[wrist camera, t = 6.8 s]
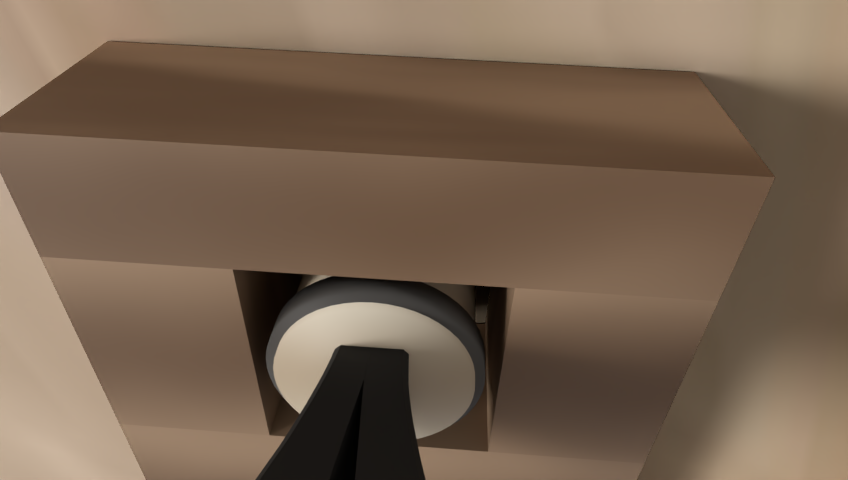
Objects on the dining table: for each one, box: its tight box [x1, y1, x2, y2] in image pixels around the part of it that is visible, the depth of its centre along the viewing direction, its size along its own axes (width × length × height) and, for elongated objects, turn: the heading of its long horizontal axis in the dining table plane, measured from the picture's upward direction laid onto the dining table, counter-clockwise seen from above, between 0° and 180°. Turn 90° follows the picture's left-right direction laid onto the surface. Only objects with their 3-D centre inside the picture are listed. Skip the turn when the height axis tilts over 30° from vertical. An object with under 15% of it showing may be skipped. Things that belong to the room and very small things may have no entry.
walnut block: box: [0, 41, 775, 480], centre depth 17 cm, size 22×12×4 cm, turn 178°
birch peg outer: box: [266, 274, 485, 439], centre depth 13 cm, size 4×4×4 cm
